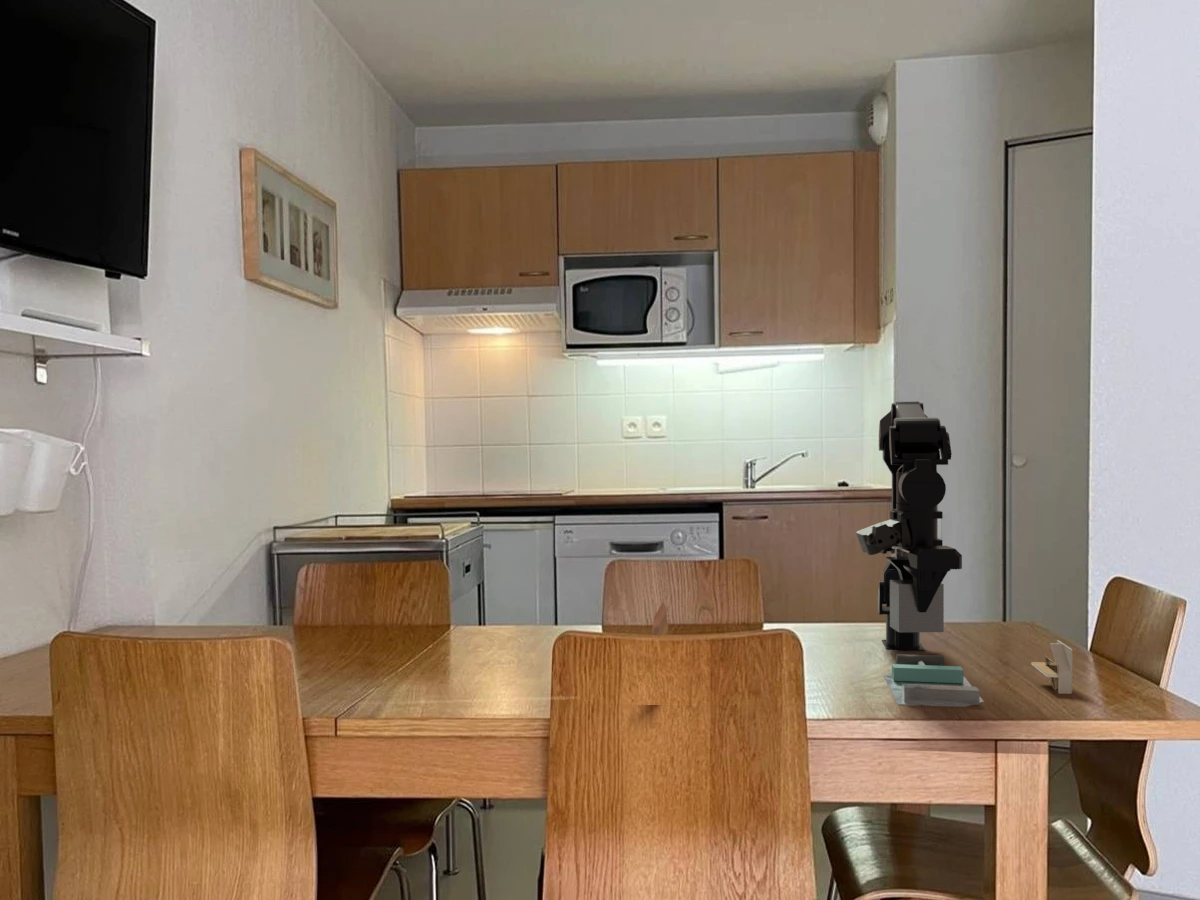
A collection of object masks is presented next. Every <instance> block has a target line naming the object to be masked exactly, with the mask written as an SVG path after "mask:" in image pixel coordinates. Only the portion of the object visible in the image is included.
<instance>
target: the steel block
mask: <svg viewBox="0 0 1200 900" xmlns="http://www.w3.org/2000/svg"><path fill="white" fill-rule="evenodd" d="M944 596H945V595H944V583H941V584H940V586H939V588H938V590H937V592H936V594H935V596H934V598H933V600H932V602H931V604H930V606H929V608H928V610H927V611H926V612H919V611H918V608H917V603H916V596H915V589H914V582H913V580H890V627H891V628H893V629H894V630H896V631H897V632H920V633H944V632H945V631H944V630H945V629H944V625H945V624H944V620H945V619H944V617H945V615H944V611H945V609H944V606H945V605H944V601H945V600H944V599H945V598H944Z"/></svg>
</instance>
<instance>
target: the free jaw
mask: <svg viewBox="0 0 1200 900" xmlns="http://www.w3.org/2000/svg"><path fill="white" fill-rule="evenodd" d="M895 659H896V660H895V661H896V663H892V664H891V674H892V678H893V680H894V681H915V682H941V683H963V677H964V669H963V667H962V666H961V665H960V666H955V665H953V666H952V665H945V657H944V655H934V654H933V655H930V654H904V653H903V654H902V653H900V654H899V653H896V658H895Z"/></svg>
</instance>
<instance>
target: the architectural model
mask: <svg viewBox="0 0 1200 900" xmlns="http://www.w3.org/2000/svg"><path fill="white" fill-rule="evenodd" d="M1049 645H1050V648H1051V652H1052V655H1053V659H1054V661H1053V660H1052V659H1050V658H1049V656H1048V654H1046V655H1045V662H1044V661H1043V662H1041V661H1031V663H1030V664H1031V665H1032V667H1034V668H1035V669H1036V670H1037V671H1039V672H1040V673H1041V674H1043V675H1044V676H1045V677H1047V678H1049V679H1050V683H1051V686H1052V689H1053V690H1055V691H1057V693H1058V694H1064V695H1065V694H1066V695H1067V694H1069V695H1071V694H1073V649H1072V647H1070V646H1068V645H1067V644H1066V643H1064V642H1062V641H1060V640H1059V639H1057V640H1056V643H1052V642H1051V643H1049Z"/></svg>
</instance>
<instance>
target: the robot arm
mask: <svg viewBox="0 0 1200 900" xmlns="http://www.w3.org/2000/svg"><path fill="white" fill-rule="evenodd" d="M890 408H891V409H890V411H889V412H887V414H886V415H884V416H883V417H882V418H881V419H880V420H879V425H878V451H882V460H883V462H884V463H885V465H886V466H887V469H888V471H890V473H891V511H890V512H889V514H890V515H889V519H888V520H884V521H882V522H881V521H880V522H878V523H875V524H872V525H869V526H867V527H865V528H862V529H859V530H857V531H856V532H855V534H856V537H857V539H858V542H859V545H860V547H861V551H862V552H863V553H867V555H869V556H873V555H878V554H880V553H881V554H882V555H884V554H886V555H887V553H888V552H890V556H886V557H885V559H886V560H887V563H886V564H885V565H884V566H883V568H882V579H881V580H880V579H879V580H878V587H877V588H878V591H877V613H878V615H881V616H882V615H885V639H882V640H881V642H882V644H883V646H884V648H885V649H886V650H889V651H914V652H918V651H919V652H920V651H921V652H925V651H926V648H925V647H924V646H923V644H922V643H921V632H897V631H896V630H894V629H893V628H891V627H890V580H913V582H914V589H915V596H916V603H917V608H918V611H919V612H926V611H927V610H928V608H929V606H930V604H931V602H932V600H933V598H934V596H935V594H936V592H937V590H938V588H939V586H940V584H941V583H942V582H943V581H944V579H945V577H946V575H947V574H948V572H950V571H951V570H961V569H963V554H961V553H960V552H959V550H957V549H956V548H953V547H951V546H948V545H943V539H940V538H938V537H939V535H938V533H939V531H938V530H939V529H938V526H939V525H938V524H939V523H938V519H941V520H942V519H943V511H941V510H938V509H939V508H938V505H939V504H940V503H941V502H942V501H943V500H944V498H945V495H946V491H947V490H946V489H947V486H946V483H945V480H944V478H943V476H942V475H941V474H940V473H939V472H938V470H937V469H938V468H937V466H948V465H949V461H950V460H952V448H951V441H950V438H951V437H950V434H949V433H948V432H947V428H946V426H945V425H941V421H940V418H938V417H929V416H927V415H926V414H925V412H924V411H925V409H924V402H920V401H895V402H894V403H891V407H890ZM942 584H943V583H942Z"/></svg>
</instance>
